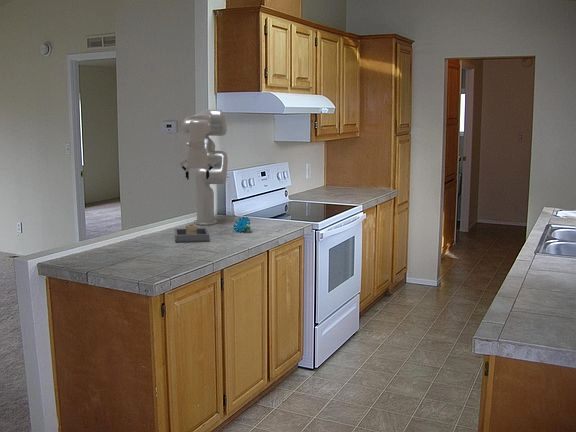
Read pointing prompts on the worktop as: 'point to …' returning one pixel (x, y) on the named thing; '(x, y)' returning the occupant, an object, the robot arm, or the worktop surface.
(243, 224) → the gear
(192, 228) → the maple block
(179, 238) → the tray
